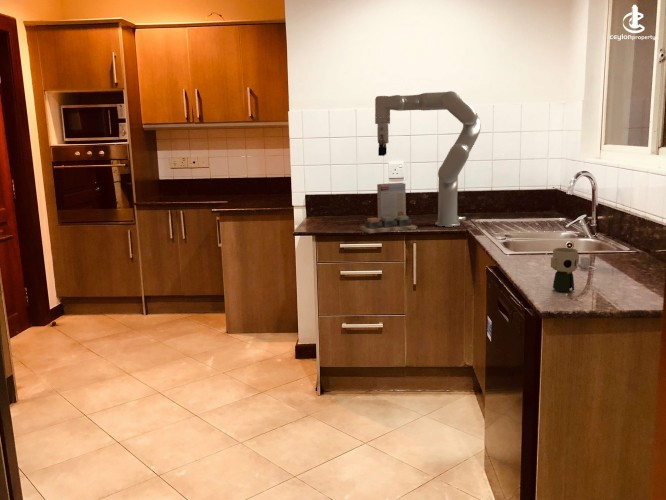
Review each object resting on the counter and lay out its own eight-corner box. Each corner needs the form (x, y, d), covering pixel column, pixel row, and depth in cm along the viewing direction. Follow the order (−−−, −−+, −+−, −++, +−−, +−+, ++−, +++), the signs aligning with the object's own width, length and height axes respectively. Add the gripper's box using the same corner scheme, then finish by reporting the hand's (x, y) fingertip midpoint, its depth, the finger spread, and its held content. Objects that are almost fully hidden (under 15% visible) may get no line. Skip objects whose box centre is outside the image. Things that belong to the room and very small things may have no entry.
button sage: (404, 221, 318) (404, 215, 317) (408, 222, 313) (408, 216, 313) (396, 221, 316) (396, 215, 315) (400, 223, 312) (400, 217, 311)
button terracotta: (375, 223, 312) (375, 217, 312) (379, 224, 308) (379, 218, 308) (367, 224, 311) (367, 218, 310) (371, 225, 307) (371, 219, 306)
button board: (406, 225, 323) (406, 216, 322) (417, 228, 311) (417, 220, 311) (359, 229, 314) (359, 220, 313) (369, 233, 303) (368, 224, 302)
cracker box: (401, 221, 336) (401, 182, 332) (406, 223, 331) (406, 183, 326) (377, 223, 333) (376, 183, 329) (381, 224, 327) (380, 184, 323)
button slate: (390, 222, 315) (390, 216, 314) (394, 223, 311) (394, 217, 310) (382, 223, 313) (382, 217, 313) (386, 224, 309) (385, 218, 309)
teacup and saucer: (577, 265, 229) (578, 254, 229) (600, 268, 224) (600, 256, 224) (569, 269, 223) (569, 258, 222) (592, 272, 218) (592, 261, 217)
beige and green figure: (558, 295, 189) (560, 253, 187) (541, 290, 196) (543, 249, 193) (585, 291, 194) (587, 249, 191) (568, 285, 200) (570, 246, 198)
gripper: (388, 120, 308) (388, 156, 311) (391, 120, 324) (391, 154, 328) (373, 121, 309) (373, 156, 312) (376, 121, 326) (376, 154, 329)
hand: (382, 155), depth 320 cm, fingers open, 9 cm apart
